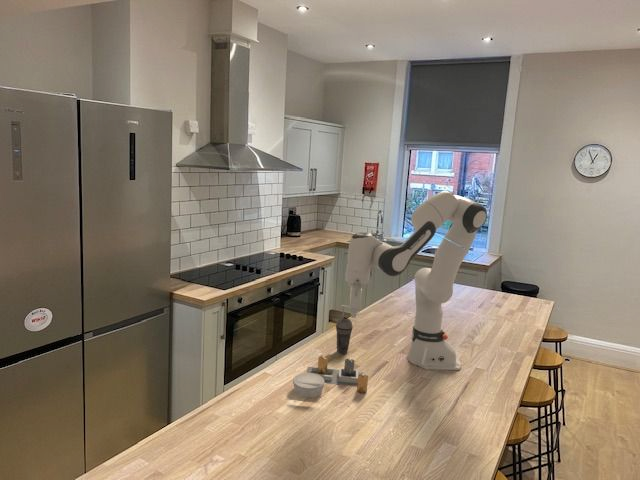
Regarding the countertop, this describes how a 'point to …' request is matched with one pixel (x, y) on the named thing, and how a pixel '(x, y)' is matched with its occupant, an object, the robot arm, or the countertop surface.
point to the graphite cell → (349, 367)
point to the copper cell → (362, 383)
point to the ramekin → (308, 384)
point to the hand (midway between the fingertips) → (353, 312)
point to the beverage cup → (343, 334)
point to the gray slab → (337, 376)
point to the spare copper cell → (322, 365)
